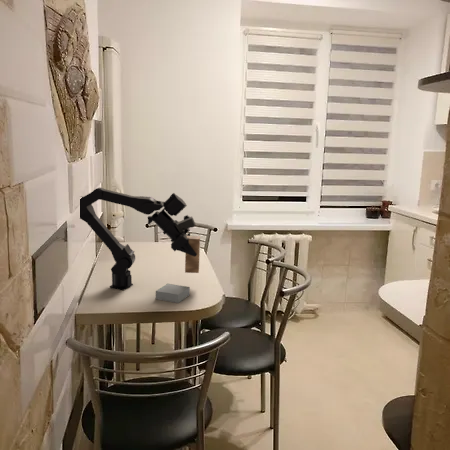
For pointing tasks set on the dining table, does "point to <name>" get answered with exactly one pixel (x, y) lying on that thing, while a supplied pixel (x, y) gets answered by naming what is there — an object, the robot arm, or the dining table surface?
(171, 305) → the dining table surface
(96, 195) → the robot arm
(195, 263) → the walnut pillar
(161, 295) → the slate plinth
